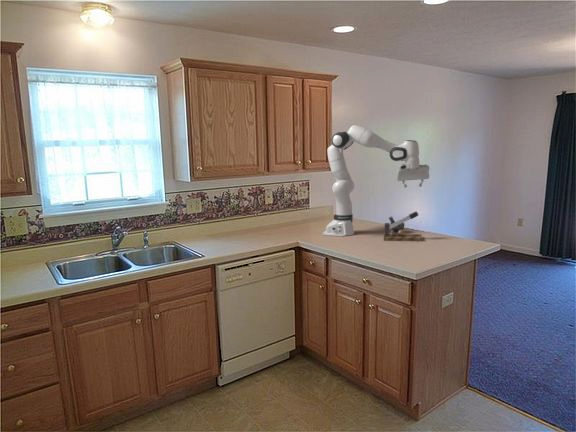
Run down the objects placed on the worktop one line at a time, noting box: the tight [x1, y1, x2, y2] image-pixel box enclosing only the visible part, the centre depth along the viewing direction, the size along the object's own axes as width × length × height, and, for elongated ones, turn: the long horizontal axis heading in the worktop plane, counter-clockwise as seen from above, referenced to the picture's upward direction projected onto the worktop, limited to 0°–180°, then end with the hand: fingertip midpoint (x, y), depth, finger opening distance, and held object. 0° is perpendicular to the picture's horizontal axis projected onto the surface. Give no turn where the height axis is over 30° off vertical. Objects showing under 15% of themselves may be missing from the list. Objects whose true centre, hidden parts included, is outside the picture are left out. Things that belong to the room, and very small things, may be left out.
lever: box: [389, 211, 419, 230], centre depth 269 cm, size 21×4×3 cm, turn 75°
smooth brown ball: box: [398, 229, 406, 236], centre depth 271 cm, size 4×4×4 cm
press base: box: [383, 222, 423, 242], centre depth 271 cm, size 24×12×10 cm, turn 76°
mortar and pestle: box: [388, 216, 405, 234], centre depth 290 cm, size 11×9×12 cm
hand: (413, 186), depth 266 cm, fingers open, 8 cm apart
